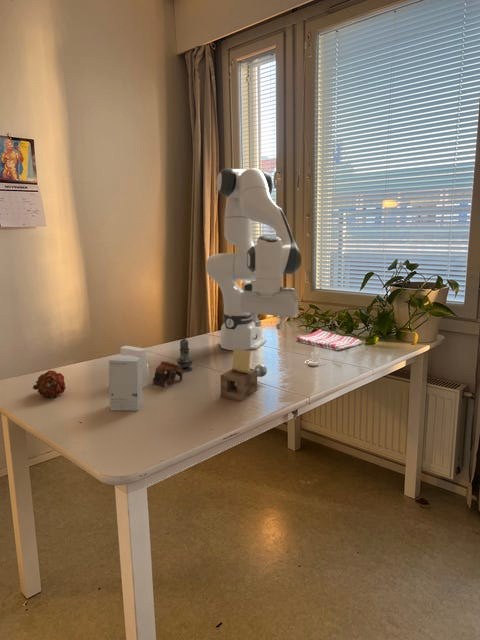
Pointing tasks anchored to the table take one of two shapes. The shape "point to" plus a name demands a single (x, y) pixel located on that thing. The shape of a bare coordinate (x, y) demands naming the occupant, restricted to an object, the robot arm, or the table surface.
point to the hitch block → (238, 384)
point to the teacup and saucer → (314, 359)
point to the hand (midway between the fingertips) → (268, 327)
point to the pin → (260, 373)
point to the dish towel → (328, 340)
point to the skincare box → (125, 383)
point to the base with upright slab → (144, 366)
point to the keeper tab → (241, 361)
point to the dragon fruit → (50, 384)
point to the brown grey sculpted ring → (169, 376)
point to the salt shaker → (184, 356)
